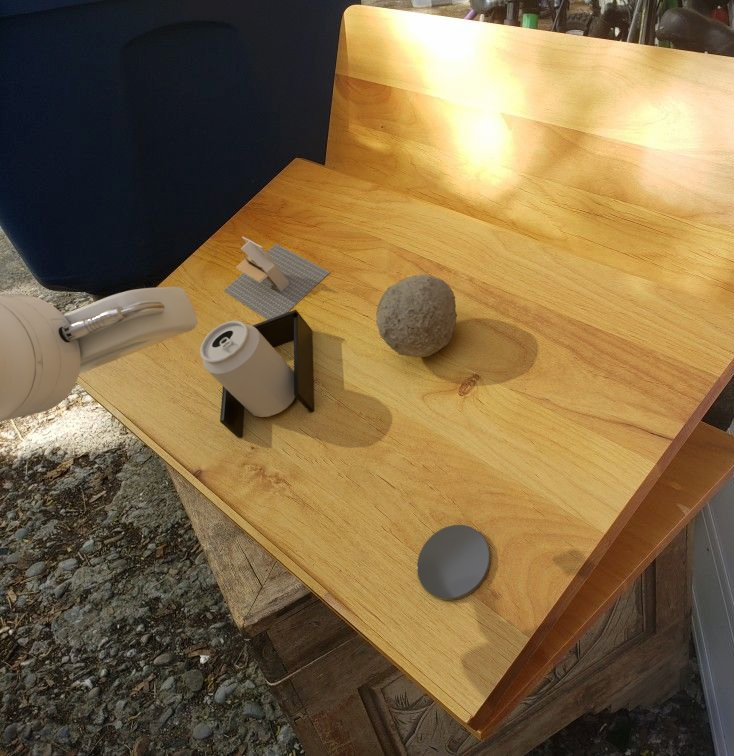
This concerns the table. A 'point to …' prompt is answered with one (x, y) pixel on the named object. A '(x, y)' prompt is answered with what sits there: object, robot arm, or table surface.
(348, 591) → the table surface
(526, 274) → the table surface
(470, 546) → the coaster
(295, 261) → the architectural model
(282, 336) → the frame
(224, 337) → the can
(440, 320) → the decorative stone
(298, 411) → the table surface
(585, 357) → the table surface
